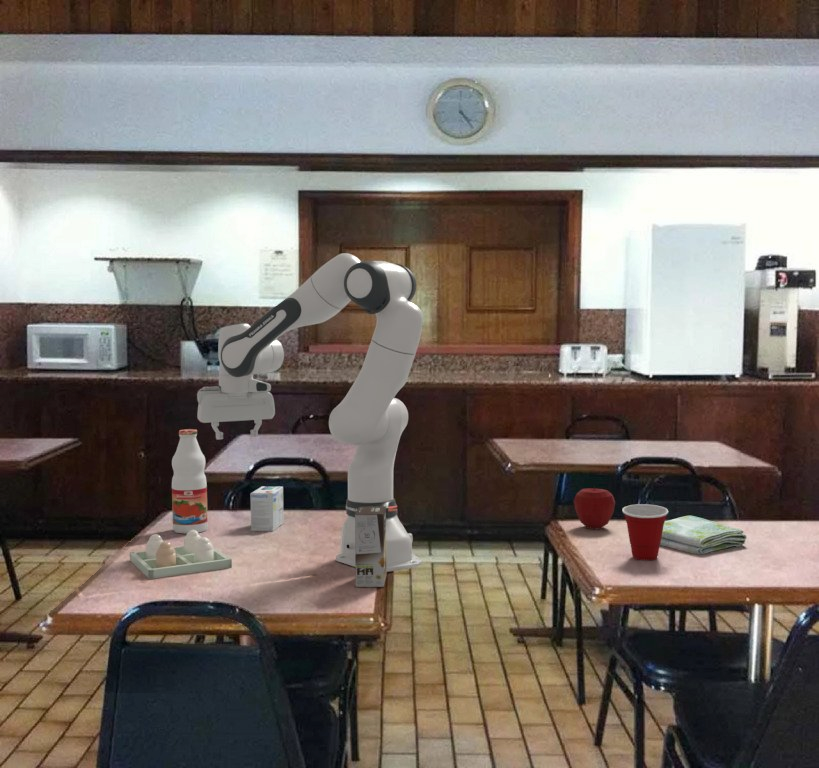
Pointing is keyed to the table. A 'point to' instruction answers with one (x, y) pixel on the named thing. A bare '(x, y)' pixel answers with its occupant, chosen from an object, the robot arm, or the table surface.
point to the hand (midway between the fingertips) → (237, 437)
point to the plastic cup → (645, 529)
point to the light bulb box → (266, 508)
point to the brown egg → (165, 555)
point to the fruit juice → (189, 485)
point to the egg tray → (179, 564)
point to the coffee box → (370, 546)
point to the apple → (594, 507)
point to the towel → (699, 535)
